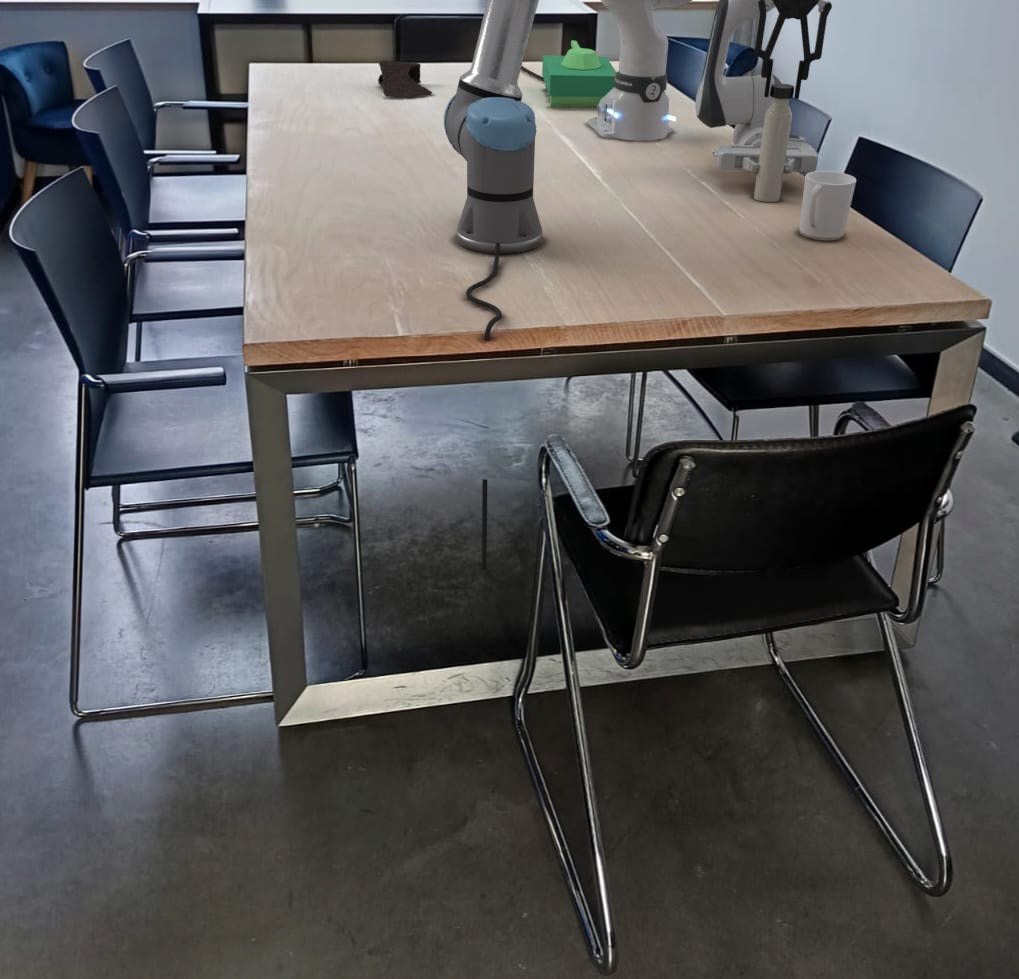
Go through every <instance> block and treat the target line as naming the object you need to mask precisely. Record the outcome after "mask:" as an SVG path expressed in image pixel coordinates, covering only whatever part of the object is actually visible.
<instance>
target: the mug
mask: <svg viewBox="0 0 1019 979" xmlns="http://www.w3.org/2000/svg"><path fill="white" fill-rule="evenodd" d="M856 183H857V178H856V177H855V176H853V175H851V174H848V173H844V172H840V171H832V170H815V171H814V172H806V174H805V177H804V184H803V194H802V203H801V212H800V219H799V228H798V232H799V234H800V235H802V236H803V237H805V238H809V239H812V240H817V241H836V240H840V239H842V238H843V237H844V236H845V230H846V227H847V221H848V217H849V215H850V214H849V213H850V209H851V205H852V201H853V196H854V193H855V189H856Z"/></svg>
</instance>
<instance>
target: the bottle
mask: <svg viewBox="0 0 1019 979" xmlns="http://www.w3.org/2000/svg"><path fill="white" fill-rule="evenodd" d="M789 102H790V99H778V98H773V101H772V104H771V105H770V107H769V108H768V110H767V111H766V113H765V119H764V126H763V133H762V140H761V148H760V155H759V162H758V163H759V168H758V169H759V171H758V173H757V174H756V178H755V184H754V190H753V191H754V192H753V199H755V200H756V201H759V202H763V203H775V202H778V201H780V199H781V195H782V194H781V193H782V187H783V180H784V174H785V173H784V167H785V161H786V154H787V147H788V141H789V135H791V134H790V133H791V127H792V120H793V112H792V110H791V107H790V105H789Z"/></svg>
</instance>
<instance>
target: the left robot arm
mask: <svg viewBox="0 0 1019 979" xmlns="http://www.w3.org/2000/svg"><path fill="white" fill-rule="evenodd" d="M539 1H540V0H487V1H486V4H485V8H484V13H483V16H482V20H481V24H480V30H479V34H478V37H477V42H476V46H475V49H474V54H473V58H472V63H471V67H470V69H469V70H467V71H466V72H464V73H463V74H461V75H460V76H459V81H458V84H457V88H456V91H455V94H454V95H453V96H452V97H451V99H450V100H449V101H448V103H447V105H446V107H445V110H444V113H443V127H444V132H445V135H446V136H447V137H446V138H447V140H448V142H449V144H450V145H451V146H452V148H453V150H454V151H455V152H456V153H457V154H459V155H460V156H461V157H462V158H463V159H464V160H465V161H466V192H467V193H466V198H465V202H464V205H463V209H462V211H461V214H460V218H459V220H458V224H457V227H456V241H457V243H458V244H459V245H461V246H462V247H464V248H466V249H468V250H470V251H475V252H479V253H486V254H494V260H493V267H492V270H491V272H490V274H489V275H488V276H487V277H486V278H484V279H482V280H480V281H478V282H475V283H474V284H472V285H470V286H469V287H468V288H466V291H465V295H466V298H467V299H468V300H469V301H470V302H472V303H474V304H476V305H479V306H481V307H484V308H487V309H489V310H491V311H493V312H494V313H495V316H494V317H493V318H491V319H490V320H489V321H488V322H487V324H486V327H485V330H484V335H483V341H485V342H488V341H490V336H491V332H492V328H493V327H494V325H495V324H496V323H497V322H499V321H500V320H502V317H503V314H502V311H501V309H500V308H499V307H497V306H496V305H494V304H492V303H490V302H488V301H484V300H482V299H479V298H477V297H475V296H474V295H473V294H472V292H474V291H475V290H476V289H478V288H480V287H483V286H484V285H487V284H489V283H491V281H492V280H494V278H495V277H496V275H497V273H498V269H499V263H500V255H506V254H507V255H508V254H517V253H524V252H527V251H530V250H533V249H536V248H538V247H539V246H540V245H541V244H542V243H543V229H542V224H541V221H540V220H541V219H540V218H539V214H538V213H539V212H538V210H537V206H536V204H535V199H534V183H535V181H534V180H535V158H536V156H535V154H536V136H537V124H536V115H535V112H534V110H533V109H532V107H531V106H530V105H528V104H527V103H525V102H523V101H522V100H523V94H524V93H523V92H522V91H521V88H520V86H519V83H518V81H519V78H520V73H521V70H522V69H521V66H523V62H524V58H525V55H526V50H527V46H528V43H529V40H530V35H531V31H532V28H533V24H534V20H535V16H536V13H537V9H538V5H539ZM771 3H774V5H775V6H776V7H775V9H776V11H777V12H778V15H777V18H776V20H775V24H774V27H773V29H772V31H771V35H770V37H769V39H768V42H767V44H766V47H765V49H763V43H764V35H765V28H766V21H767V13H766V11H767V10H769V9H770V5H771ZM758 6H759V11H760V15H759V16H758V24H757V30H756V37H755V44H754V52H753V53H754V56H755V57H758V58H759V59H761V60H762V64H761V71H760V75H761V76H762V78H766V86H765V93H764V97H769V89H770V82H771V75H772V74H773V68H774V59H773V58H771V57H772V54H773V51H774V48H775V46H776V44H777V41H778V39H779V36H780V34H781V31H782V28H783V26H784V24H785V21H786V20H791V19H795V20H799V22H800V31H801V42H802V52H803V60H801V59H800V60H799V61H798V67H797V68H798V69H797V74H796V75H797V76H796V82H795V87H794V94H793V98H794V100H799V99H800V94H801V86H802V81H808V79H809V74H810V69H811V68H810V66H811V63H812V62H813V61H817V60H821V59H822V55H823V48H824V41H825V35H826V27H827V22H828V16H829V14H830V12H831V10H832V8H833V5H832V2H831V1H830V0H829V1H828V0H827V1H826V0H759V1H758ZM816 6H818V7H817V10H818V13H819V17H818V24H817V32H816V38H815V45H814V52H811V45H810V44H811V43H810V33H809V23H808V22H809V21H808V15H809V14H810V13H811V12H812V11H813V9H814V8H815V7H816ZM481 485H482V490H481V491H482V494H481V495H482V497H481V498H482V499H481V500H482V501H481V502H482V503H481V510H482V512H481V570H482V571H487V568H488V567H487V563H488V562H487V561H488V557H487V556H488V478H487V479H485V478H482V484H481Z"/></svg>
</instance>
